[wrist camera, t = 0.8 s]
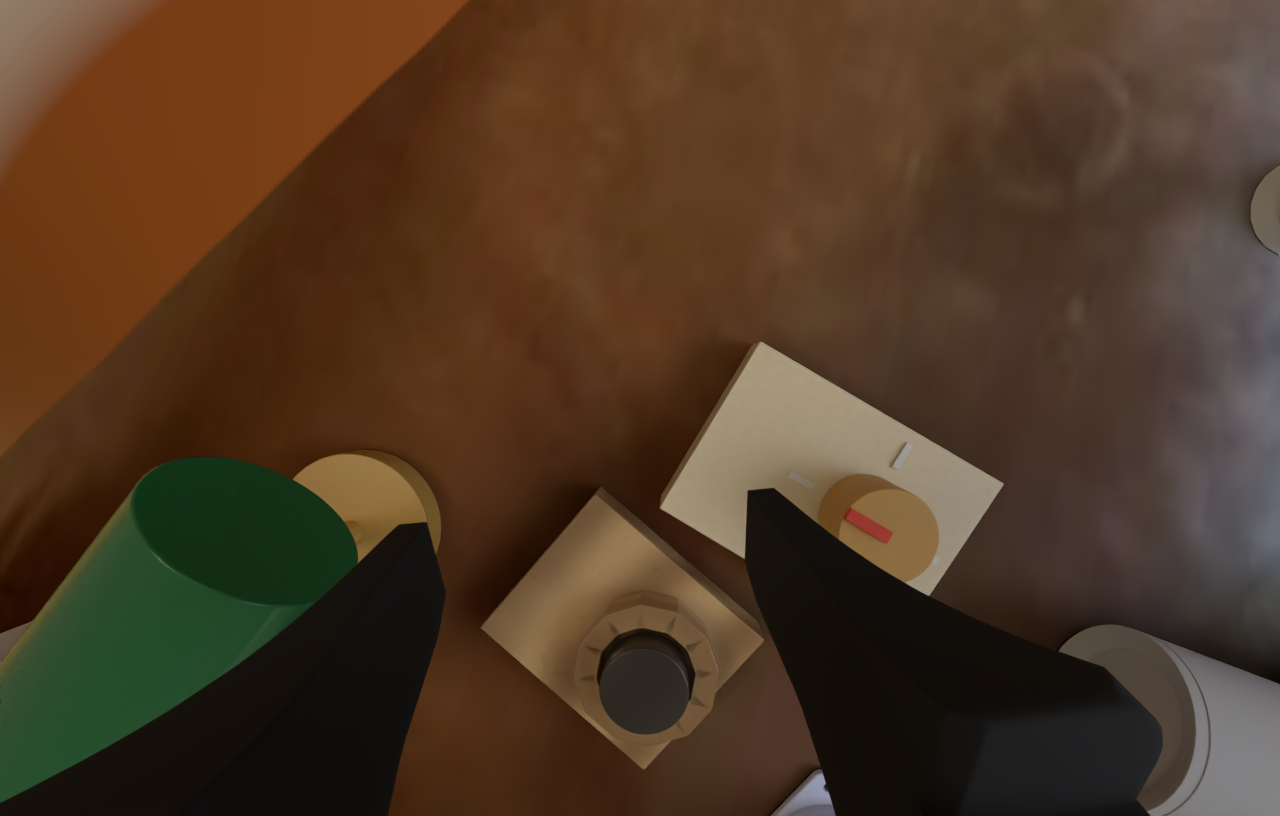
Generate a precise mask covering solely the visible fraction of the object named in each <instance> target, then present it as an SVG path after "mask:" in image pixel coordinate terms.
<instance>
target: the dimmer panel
mask: <svg viewBox="0 0 1280 816" xmlns="http://www.w3.org/2000/svg"><path fill="white" fill-rule="evenodd" d="M859 474H868V475H874V476H878V477H881V478H883V479H885V480H887V481H889V482H891V483H893V484H895V485H897V486H899V487H901V488H903V489H904V490H906V491H908V492H910V493H912V494H914V495H916V496H917V497H919V498H920V499H921V500H923V501H924V502H925V503H926V504H927V505H928V507H929V508H930V509H931V511H932V512H933V514H934V516H935V518H936V521H937V524H938V529H939V545H938V549H937V552H936V555H935V557H934V559H933V561H932V562H931V564H930V565H929V566H928V568H927V569H926V570H925V571H924V572H923V573H921V574H920V575H919V576H917V577H916V578H914V579H912V580H910V581H908V582H905V583H906V584H908V585H910V586H911V587H913V588H915V589H917V590H918V591H920V592H922V593H924V594H926V595H928V596H929V595H930V594H931V592H932V591H933V589H934V588H935V586H936V585H937V583H938V582H939V580H940V579H941V577H942V576H943V574H944V573H945V571H946V570H947V568H948V567H949V566H950V564H951V563H952V561H953V560H954V558H955V557H956V555H957V554H958V552H959V551H960V549H961V548H962V546H963V545H964V543H965V542H966V540H967V539H968V537H969V536H970V534H971V533H972V531H973V530H974V528H975V527H976V525H977V524H978V522H979V521H980V519H981V518H982V516H983V515H984V513H985V512H986V510H987V509H988V507H989V506H990V504H991V503H992V501H993V500H994V498H995V497H996V495H997V494H998V492H999V491H1000V489H1001V488H1002V486H1003V483H1002V482H1000V481H998V480H997V479H995V478H993V477H992V476H990V475H988V474H987V473H985V472H983V471H981V470H980V469H978V468H976V467H975V466H973V465H971V464H969V463H968V462H966V461H964V460H963V459H961V458H959V457H957V456H956V455H954V454H952V453H951V452H949V451H947V450H946V449H944V448H942V447H940V446H939V445H937V444H935V443H934V442H932V441H930V440H928V439H927V438H925V437H923V436H922V435H920V434H918V433H916V432H915V431H913V430H911V429H910V428H908V427H906V426H905V425H903V424H901V423H899V422H898V421H896V420H894V419H893V418H891V417H889V416H887V415H886V414H884V413H882V412H881V411H879V410H877V409H875V408H874V407H872V406H870V405H869V404H867V403H865V402H864V401H862V400H860V399H858V398H857V397H855V396H853V395H852V394H850V393H848V392H846V391H845V390H843V389H841V388H840V387H838V386H836V385H834V384H833V383H831V382H829V381H828V380H826V379H824V378H823V377H821V376H819V375H817V374H816V373H814V372H812V371H811V370H809V369H807V368H805V367H804V366H802V365H800V364H799V363H797V362H795V361H793V360H792V359H790V358H788V357H787V356H785V355H783V354H781V353H780V352H778V351H776V350H775V349H773V348H771V347H770V346H768V345H766V344H764V343H763V342H758V343H755V344H753V345H752V346H751V347H750V349H749V351H748V352H747V354H746V356H745V357H744V359H743V361H742V362H741V364H740V366H739V367H738V369H737V371H736V372H735V374H734V376H733V377H732V379H731V380H730V382H729V384H728V385H727V387H726V389H725V390H724V392H723V394H722V395H721V397H720V399H719V400H718V402H717V404H716V405H715V407H714V409H713V410H712V412H711V414H710V415H709V417H708V419H707V420H706V422H705V424H704V425H703V427H702V429H701V430H700V432H699V433H698V435H697V437H696V438H695V440H694V442H693V443H692V445H691V447H690V448H689V450H688V452H687V453H686V455H685V457H684V458H683V460H682V462H681V463H680V465H679V467H678V468H677V470H676V472H675V473H674V475H673V477H672V478H671V480H670V481H669V483H668V485H667V486H666V488H665V490H664V491H663V493H662V495H661V502H660V509H662V510H663V511H665V512H667V513H668V514H670V515H672V516H673V517H675V518H677V519H678V520H680V521H682V522H683V523H685V524H687V525H688V526H690V527H692V528H693V529H695V530H697V531H699V532H700V533H702V534H704V535H705V536H707V537H709V538H710V539H712V540H714V541H715V542H717V543H719V544H720V545H722V546H724V547H725V548H727V549H729V550H730V551H732V552H734V553H735V554H737V555H739V556H740V557H742V558H744V559H745V540H746V516H747V491H748V490H756V489H766V488H775V489H776V490H777V491H778V492H780V493H781V494H782V495H783V496H785V497H786V498H787V499H788V500H790V501H791V502H792V503H793V504H794V505H796V506H797V507H798V508H799V509H800V510H802V511H803V512H804V513H805V514H807V515H808V516H809V517H810V518H812V519H813V520H814V521H815V522H817V523H818V524H819V510H820V505H821V503H822V500H823V498H824V496H825V495H826V493H827V492H828V491H829V490H830V488H831V487H832V486H834V485H835V484H836V483H837V482H839V481H841V480H842V479H844V478H847V477H850V476H853V475H859Z"/></svg>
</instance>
